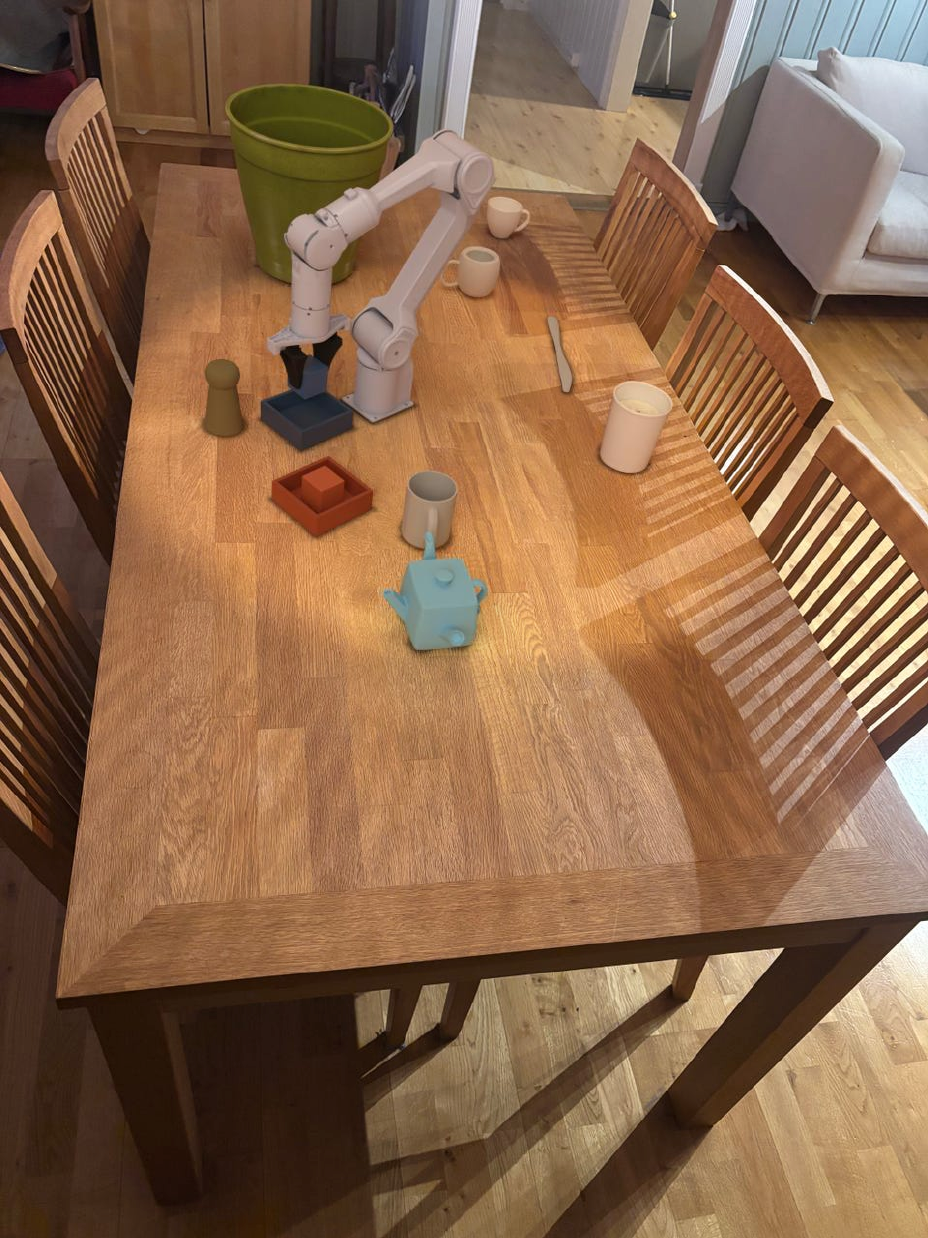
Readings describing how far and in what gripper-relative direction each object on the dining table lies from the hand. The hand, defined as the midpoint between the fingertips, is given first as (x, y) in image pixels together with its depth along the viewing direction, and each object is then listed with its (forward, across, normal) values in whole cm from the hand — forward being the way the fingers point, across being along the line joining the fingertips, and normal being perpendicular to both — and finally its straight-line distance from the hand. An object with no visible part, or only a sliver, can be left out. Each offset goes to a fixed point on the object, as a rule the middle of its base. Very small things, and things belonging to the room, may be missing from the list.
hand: (307, 380), depth 152 cm
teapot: (+8, +16, +45) cm, 49 cm away
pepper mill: (+8, +11, -7) cm, 15 cm away
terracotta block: (+7, +11, +17) cm, 22 cm away
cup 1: (+8, +4, +32) cm, 34 cm away
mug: (+8, -56, -18) cm, 59 cm away
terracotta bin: (+8, +11, +17) cm, 22 cm away
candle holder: (+8, -38, +37) cm, 54 cm away
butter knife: (+8, -54, +9) cm, 55 cm away
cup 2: (+8, -83, -32) cm, 89 cm away
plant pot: (+8, -34, -42) cm, 54 cm away
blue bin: (+8, 0, 0) cm, 8 cm away
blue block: (+1, 0, 0) cm, 1 cm away
